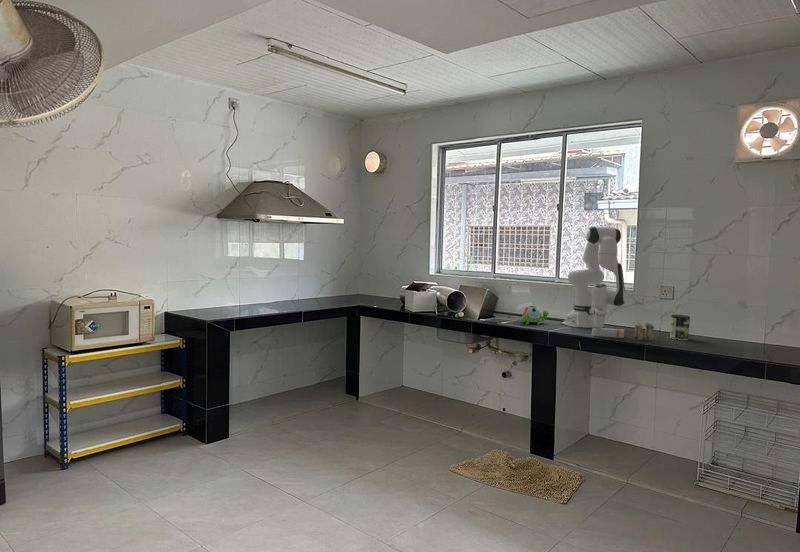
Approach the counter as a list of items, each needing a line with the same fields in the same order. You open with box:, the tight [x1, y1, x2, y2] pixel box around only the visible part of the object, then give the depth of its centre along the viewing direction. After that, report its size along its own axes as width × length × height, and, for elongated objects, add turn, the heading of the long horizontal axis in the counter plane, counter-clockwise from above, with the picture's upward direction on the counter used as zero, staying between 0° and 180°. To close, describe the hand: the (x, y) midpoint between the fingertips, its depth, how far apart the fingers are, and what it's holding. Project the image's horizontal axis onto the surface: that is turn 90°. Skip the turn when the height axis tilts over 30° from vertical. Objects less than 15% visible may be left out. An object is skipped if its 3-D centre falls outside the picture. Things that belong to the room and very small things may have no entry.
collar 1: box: [634, 322, 644, 341], centre depth 334 cm, size 2×11×8 cm, turn 169°
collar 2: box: [644, 322, 655, 341], centre depth 333 cm, size 2×11×8 cm, turn 169°
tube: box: [591, 327, 625, 339], centre depth 338 cm, size 18×5×5 cm, turn 79°
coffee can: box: [669, 314, 691, 341], centre depth 335 cm, size 10×10×14 cm
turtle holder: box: [521, 305, 550, 325], centre depth 382 cm, size 12×18×12 cm
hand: (597, 332), depth 339 cm, fingers closed on tube, 4 cm apart
